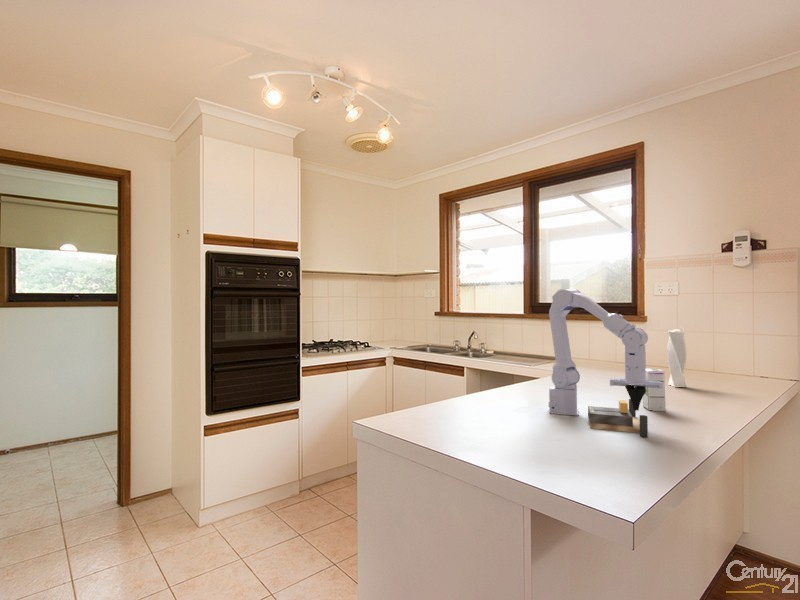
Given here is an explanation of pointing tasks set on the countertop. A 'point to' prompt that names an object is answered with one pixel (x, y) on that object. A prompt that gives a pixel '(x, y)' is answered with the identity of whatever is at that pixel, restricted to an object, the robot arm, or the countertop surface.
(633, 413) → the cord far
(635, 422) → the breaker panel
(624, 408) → the orange cuboid
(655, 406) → the syrup box
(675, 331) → the skyscraper
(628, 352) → the robot arm
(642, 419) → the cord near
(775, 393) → the countertop surface
